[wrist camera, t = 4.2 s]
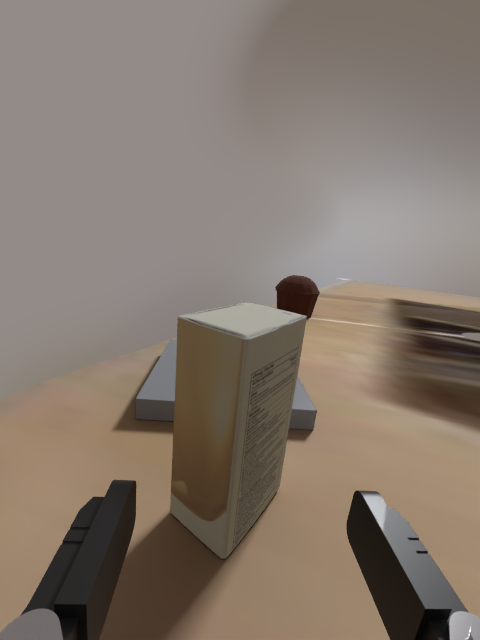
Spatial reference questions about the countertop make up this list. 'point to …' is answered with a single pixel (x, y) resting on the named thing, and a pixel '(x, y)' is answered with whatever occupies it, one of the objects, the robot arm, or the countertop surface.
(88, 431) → the countertop surface
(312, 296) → the muffin
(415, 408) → the countertop surface
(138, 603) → the countertop surface
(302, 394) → the plate
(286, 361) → the skincare box
